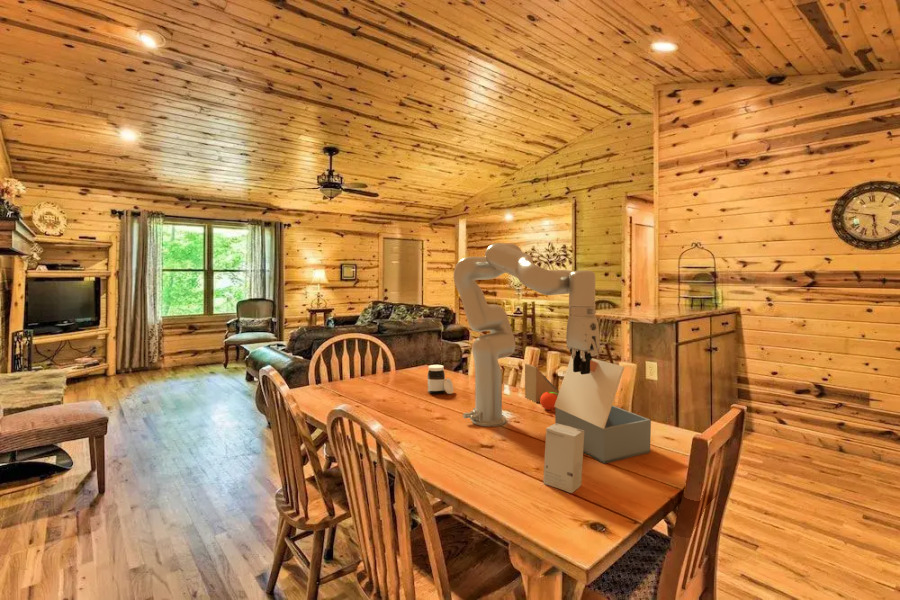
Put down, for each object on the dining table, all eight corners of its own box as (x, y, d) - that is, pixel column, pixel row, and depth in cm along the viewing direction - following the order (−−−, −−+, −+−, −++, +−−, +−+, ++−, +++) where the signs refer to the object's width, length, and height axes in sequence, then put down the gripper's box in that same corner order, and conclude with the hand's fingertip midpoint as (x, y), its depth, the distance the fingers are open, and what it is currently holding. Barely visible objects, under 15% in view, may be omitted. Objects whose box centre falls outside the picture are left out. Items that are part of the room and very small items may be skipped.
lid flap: (604, 429, 127) (592, 425, 126) (555, 407, 147) (544, 403, 146) (624, 367, 129) (613, 362, 127) (573, 353, 149) (563, 349, 147)
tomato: (559, 407, 180) (559, 389, 179) (562, 412, 173) (562, 394, 172) (539, 406, 180) (539, 389, 180) (540, 412, 174) (541, 394, 173)
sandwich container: (566, 398, 191) (567, 363, 190) (536, 403, 185) (536, 367, 184) (554, 393, 199) (554, 359, 198) (524, 398, 193) (524, 363, 191)
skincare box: (543, 484, 117) (543, 428, 116) (554, 475, 121) (554, 421, 120) (573, 494, 111) (574, 435, 110) (584, 485, 116) (584, 428, 115)
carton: (603, 463, 128) (604, 429, 127) (555, 437, 148) (555, 407, 147) (650, 452, 136) (650, 419, 135) (598, 428, 156) (598, 400, 155)
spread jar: (427, 389, 207) (426, 364, 206) (451, 388, 209) (451, 363, 208) (428, 396, 195) (428, 370, 195) (454, 395, 197) (454, 369, 196)
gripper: (611, 313, 130) (610, 377, 131) (573, 309, 144) (573, 366, 146) (591, 315, 127) (590, 380, 128) (554, 310, 141) (554, 368, 142)
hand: (581, 372), depth 137 cm, fingers closed on lid flap, 2 cm apart
